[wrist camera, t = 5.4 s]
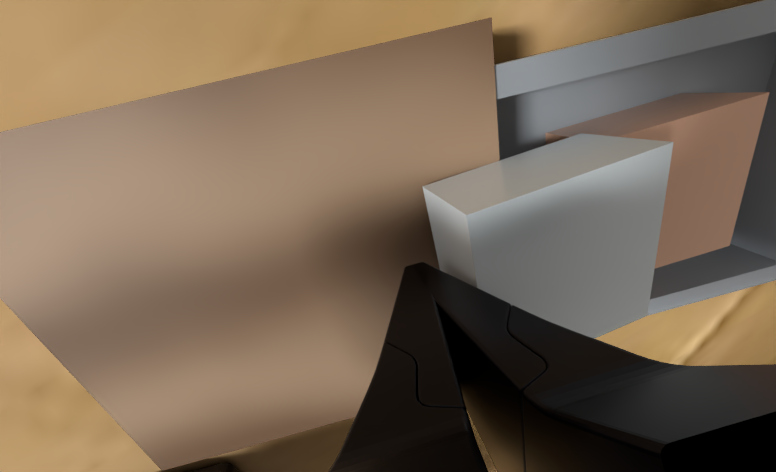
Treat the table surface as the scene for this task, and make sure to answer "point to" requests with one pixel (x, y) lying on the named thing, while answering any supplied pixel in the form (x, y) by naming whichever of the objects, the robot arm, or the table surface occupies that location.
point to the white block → (559, 228)
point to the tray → (650, 83)
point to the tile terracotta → (692, 162)
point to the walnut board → (240, 235)
